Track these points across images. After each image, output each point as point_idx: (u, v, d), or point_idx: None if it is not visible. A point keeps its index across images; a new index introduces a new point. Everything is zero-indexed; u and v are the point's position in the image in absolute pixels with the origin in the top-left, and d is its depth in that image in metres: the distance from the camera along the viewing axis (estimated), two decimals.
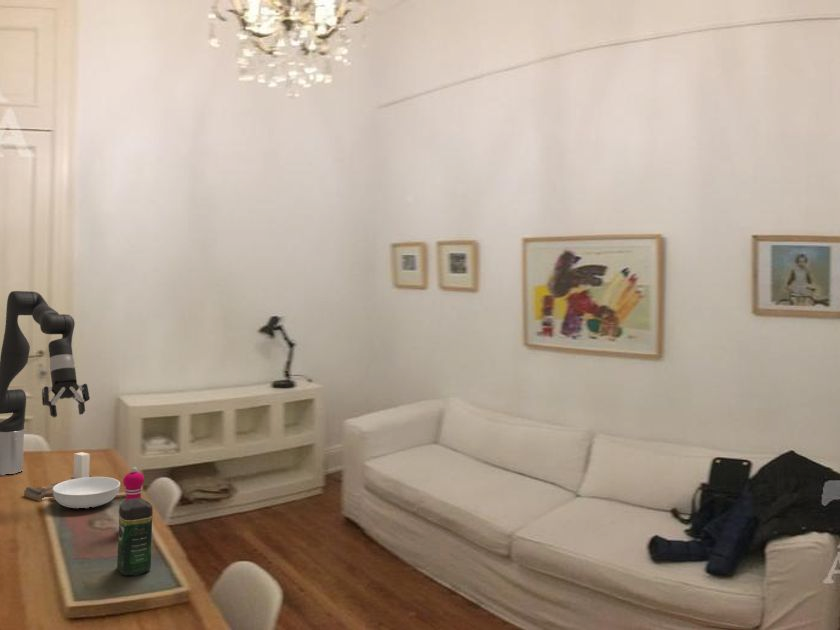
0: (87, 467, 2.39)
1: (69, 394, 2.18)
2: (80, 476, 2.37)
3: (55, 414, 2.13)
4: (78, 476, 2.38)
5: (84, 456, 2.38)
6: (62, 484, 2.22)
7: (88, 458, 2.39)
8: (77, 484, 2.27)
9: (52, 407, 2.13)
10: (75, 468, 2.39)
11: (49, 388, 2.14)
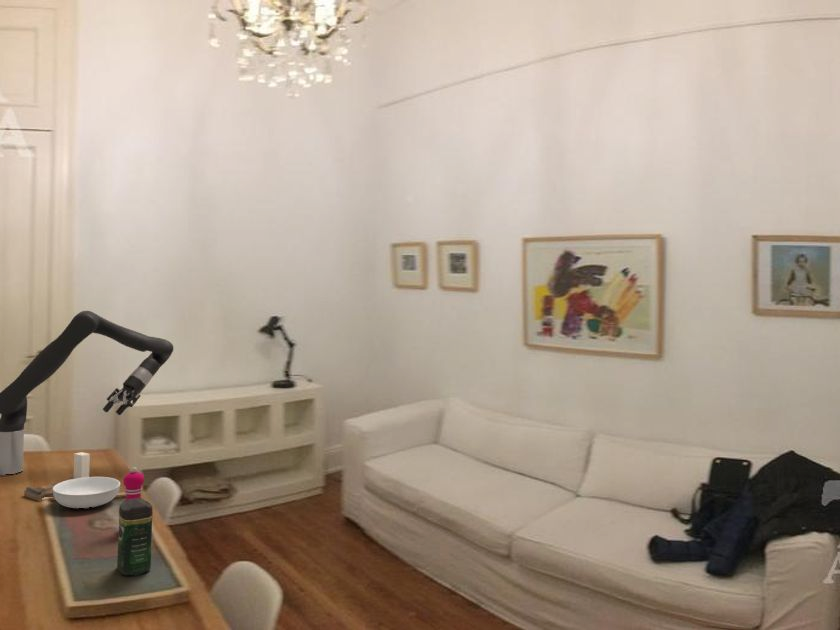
0: (87, 467, 2.39)
1: None
2: (80, 476, 2.37)
3: None
4: (78, 476, 2.38)
5: (84, 456, 2.38)
6: (62, 484, 2.22)
7: (88, 458, 2.39)
8: (77, 484, 2.27)
9: None
10: (75, 468, 2.39)
11: None
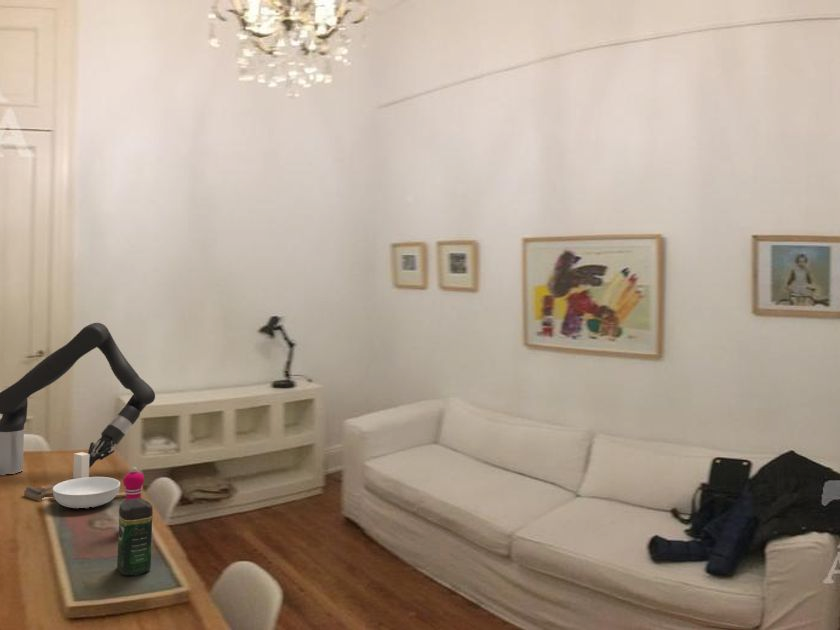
0: (87, 467, 2.39)
1: None
2: (80, 476, 2.37)
3: None
4: (78, 476, 2.38)
5: (84, 456, 2.37)
6: (62, 484, 2.22)
7: (88, 458, 2.39)
8: (77, 484, 2.27)
9: None
10: (75, 468, 2.39)
11: None
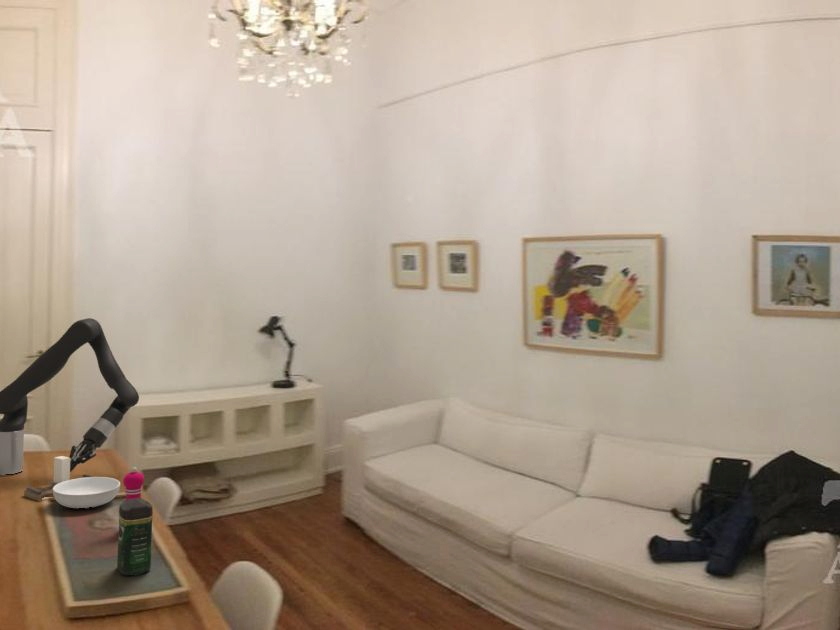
0: (67, 471, 2.32)
1: None
2: (60, 481, 2.31)
3: None
4: (58, 480, 2.31)
5: (64, 460, 2.31)
6: (62, 484, 2.22)
7: (68, 462, 2.33)
8: (77, 484, 2.27)
9: None
10: (55, 472, 2.32)
11: None
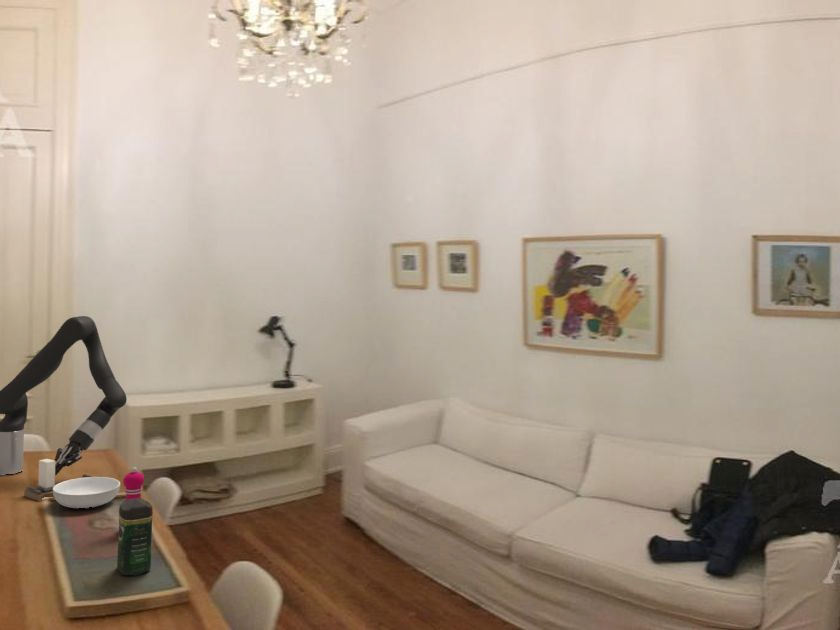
0: (52, 474, 2.28)
1: None
2: (45, 484, 2.26)
3: None
4: (43, 484, 2.27)
5: (49, 463, 2.26)
6: (62, 484, 2.22)
7: (53, 465, 2.28)
8: (77, 484, 2.27)
9: None
10: (40, 476, 2.28)
11: None
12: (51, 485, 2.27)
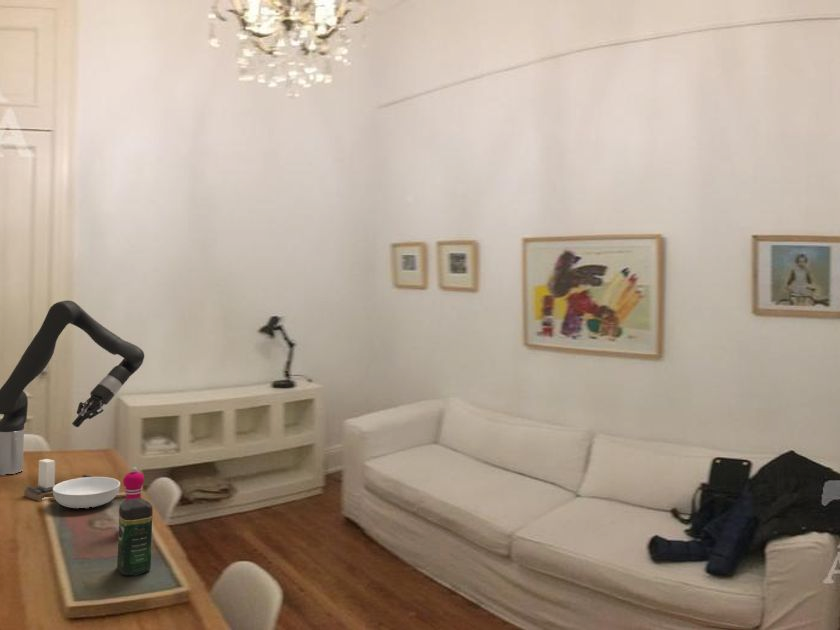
0: (52, 474, 2.28)
1: None
2: (45, 484, 2.26)
3: None
4: (43, 484, 2.27)
5: (49, 463, 2.26)
6: (62, 484, 2.22)
7: (53, 465, 2.28)
8: (77, 484, 2.27)
9: None
10: (40, 476, 2.28)
11: None
12: (51, 485, 2.27)
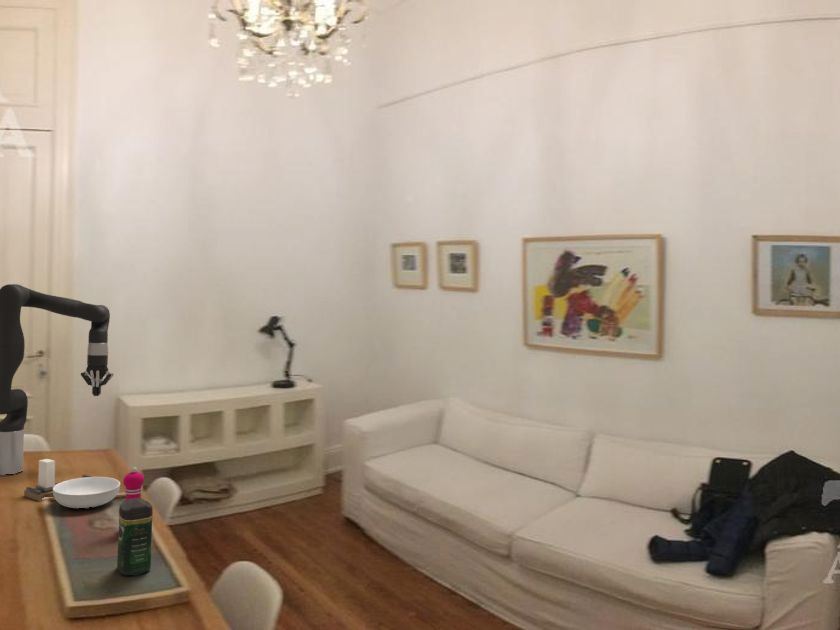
0: (52, 474, 2.28)
1: None
2: (45, 484, 2.26)
3: None
4: (43, 484, 2.27)
5: (49, 463, 2.26)
6: (62, 484, 2.22)
7: (53, 465, 2.28)
8: (77, 484, 2.27)
9: None
10: (40, 476, 2.28)
11: None
12: (51, 485, 2.27)
